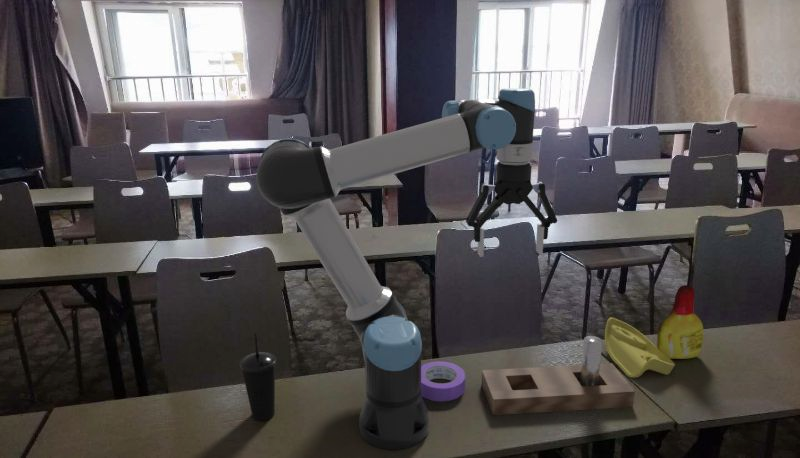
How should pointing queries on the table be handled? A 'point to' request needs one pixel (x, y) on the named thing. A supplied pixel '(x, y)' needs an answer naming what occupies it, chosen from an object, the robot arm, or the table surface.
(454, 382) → the masking tape
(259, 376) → the drinking cup
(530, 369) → the brown block with holes
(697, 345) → the bottle
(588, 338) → the steel pin
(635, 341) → the plastic component
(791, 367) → the table surface
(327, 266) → the robot arm
